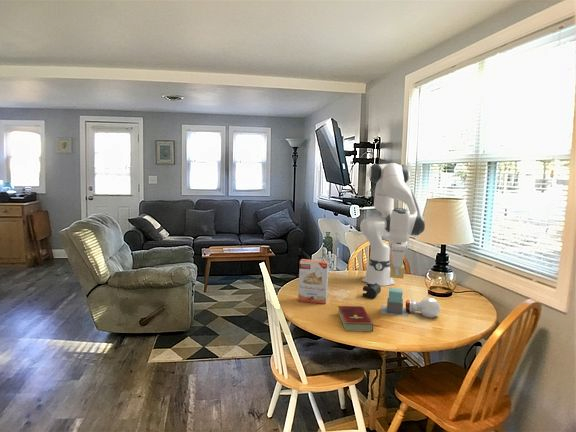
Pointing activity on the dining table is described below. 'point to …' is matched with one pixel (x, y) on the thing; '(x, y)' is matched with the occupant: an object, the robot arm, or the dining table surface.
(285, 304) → the dining table surface
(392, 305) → the base brick
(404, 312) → the build plate
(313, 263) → the cracker box
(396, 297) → the teal brick
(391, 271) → the ochre brick
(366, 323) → the hardcover book
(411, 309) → the potion bottle
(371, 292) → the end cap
